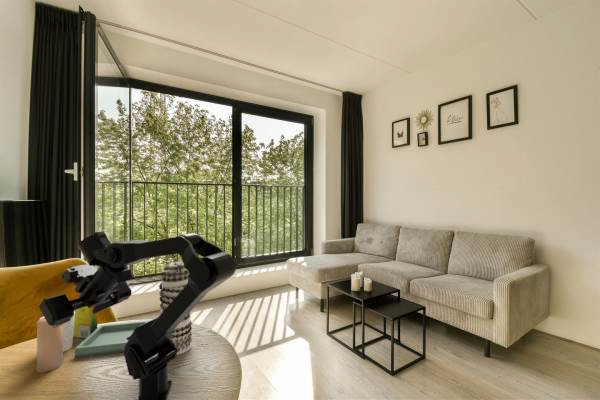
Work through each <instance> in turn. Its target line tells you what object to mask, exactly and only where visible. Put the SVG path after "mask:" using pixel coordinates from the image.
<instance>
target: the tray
mask: <svg viewBox="0 0 600 400" xmlns="http://www.w3.org/2000/svg"><path fill="white" fill-rule="evenodd" d="M149 321H150V320H141V321H132V322H130V321H129V322H122V323H110V324H102V325H99V326H97V329H96V330H95V331H94V332H93V333H92V334H91V335H89V336H88V337H87V338H84V340H83V341H82V342H80V343H79V344H78V345H77V346H76V347H75V348H74V359H78V358H85V357H94V356H100V355H101V356H103V355H109V354H118V353H124V351H125V345H126V343H127V341H129V340H127V338H128V337H130V336H131V335H132V333H133V332H134V330H135V329H136V328H137V327H138V326H140V325H142V324H145V323H147V322H149Z"/></svg>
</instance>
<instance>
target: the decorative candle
mask: <svg viewBox="0 0 600 400" xmlns="http://www.w3.org/2000/svg"><path fill="white" fill-rule="evenodd" d="M161 272H162V278H161V279H162V280H161V282H160V284H159V285H158V287H159V291H160V292H159V293H158V294H159V296H160V297H159V302H160V304H159V307H160V313H162V312H163V311H164V310H165V309H166V308H167V307H168V305H169V304H170V303H171V302H172V301H173V300H174V299H175V297H176V296H177V295H178V294H179V293H180V292H181V291H182V289H183V288H184V287H185V286H186V285H187V283H188V275H189V273H190V272H189V271H188V270H187V269H186V268H185V267H184V264H183V261H175V262H174V261H173V262H169V263H166V264H165V265H164V268H161ZM192 325H193V322H192V320H191V312H190V313H189V314H188V315H187V316H186V317H185V318H184V319H183V320H182V321H181V322H180V324H179V325H178V326H177V327H176V328H175V329H174V330H173V331H172V338H171V341H172V342H173V344H174V345H175V347H176V348H177V350H178V352H177V355H176V356H178V355H181V354H184V353H186V352H188V351H189V350H190V349H191V348H192V340H193V338H192V336H193V334H192V329H193V328H192Z"/></svg>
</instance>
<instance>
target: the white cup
mask: <svg viewBox="0 0 600 400" xmlns="http://www.w3.org/2000/svg"><path fill="white" fill-rule="evenodd" d="M42 318H45V317H44V315H43V316H42V317H40V318H39V320H40V319H42ZM74 326H75V311H74V315H73V317H72V318H70V321H68V322H66V323H64V324H63V353H65V352H67V351H68V350H71V349H72V348H73V339H74V337H73V336H74Z"/></svg>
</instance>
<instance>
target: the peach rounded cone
mask: <svg viewBox="0 0 600 400" xmlns="http://www.w3.org/2000/svg"><path fill="white" fill-rule="evenodd" d="M41 318H42V317H41ZM36 327H37V328H36V331H37V332H36V372H38V373H46V372H47V373H48V372H51V371H53V370H55V369H58V368H59V367H61V366H62V365H63V362H64V361H63V359H64V358H63V355H64V354H63V353H64V352H63V325H61V326H59V327H57V328H55V329H54V328H53V327H52V326H51V325H49V324H48V323H47V321H46V319H45V318H42V319H40V318H39V319H38V320H37V321H36Z"/></svg>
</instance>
